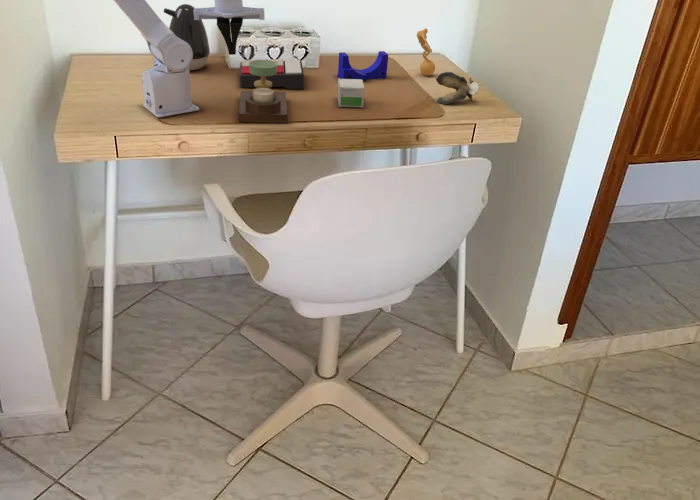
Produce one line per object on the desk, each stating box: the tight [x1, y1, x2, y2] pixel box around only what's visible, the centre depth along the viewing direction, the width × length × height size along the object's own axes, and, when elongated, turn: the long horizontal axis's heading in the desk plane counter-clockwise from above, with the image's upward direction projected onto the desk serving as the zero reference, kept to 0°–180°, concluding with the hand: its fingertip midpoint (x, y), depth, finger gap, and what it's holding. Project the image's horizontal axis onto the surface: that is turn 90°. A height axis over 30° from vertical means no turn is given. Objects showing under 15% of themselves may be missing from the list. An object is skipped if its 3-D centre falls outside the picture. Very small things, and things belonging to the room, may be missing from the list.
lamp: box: [249, 59, 277, 89], centre depth 147 cm, size 6×6×5 cm
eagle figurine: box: [435, 71, 480, 105], centre depth 159 cm, size 8×7×9 cm
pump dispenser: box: [163, 3, 211, 72], centre depth 164 cm, size 10×10×15 cm
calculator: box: [238, 58, 305, 90], centre depth 162 cm, size 11×4×15 cm
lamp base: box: [238, 90, 288, 124], centre depth 145 cm, size 14×10×4 cm
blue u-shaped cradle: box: [337, 50, 389, 82], centre depth 168 cm, size 12×4×6 cm, turn 108°
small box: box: [336, 78, 365, 109], centre depth 153 cm, size 6×6×5 cm
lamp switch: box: [251, 87, 275, 103], centre depth 141 cm, size 4×4×2 cm
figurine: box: [416, 28, 436, 77], centre depth 172 cm, size 8×6×12 cm
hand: (232, 53), depth 145 cm, fingers closed
